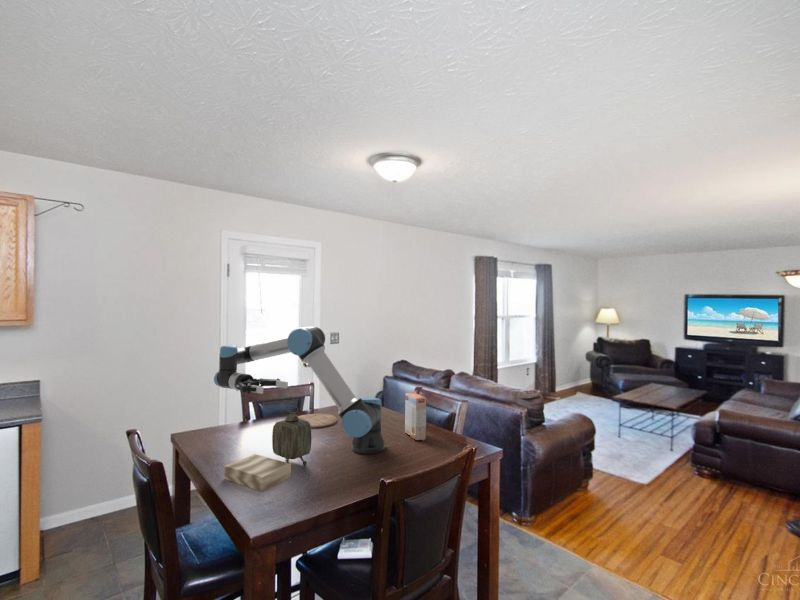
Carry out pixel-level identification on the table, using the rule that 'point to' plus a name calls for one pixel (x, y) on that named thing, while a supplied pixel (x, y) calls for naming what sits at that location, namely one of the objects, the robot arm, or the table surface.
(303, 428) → the tabletop clock
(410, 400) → the cracker box
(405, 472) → the table surface
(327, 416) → the trivet
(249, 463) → the maple base
